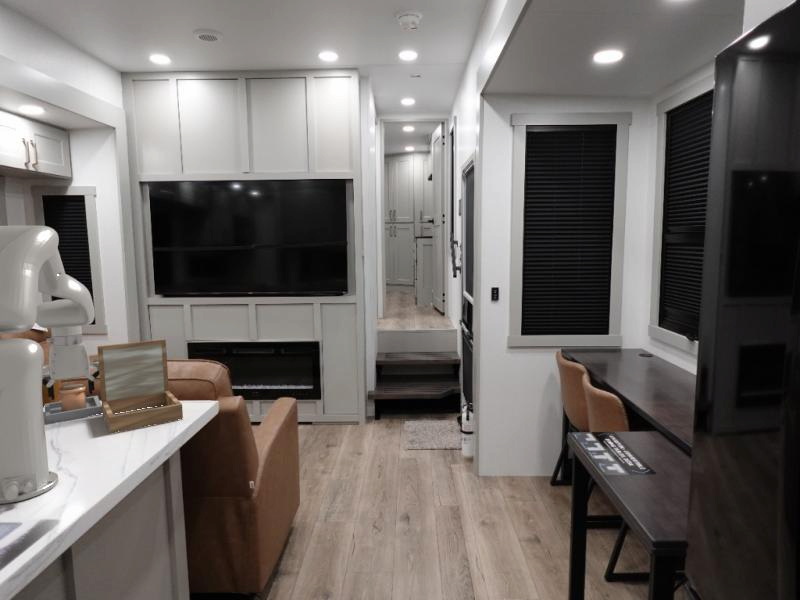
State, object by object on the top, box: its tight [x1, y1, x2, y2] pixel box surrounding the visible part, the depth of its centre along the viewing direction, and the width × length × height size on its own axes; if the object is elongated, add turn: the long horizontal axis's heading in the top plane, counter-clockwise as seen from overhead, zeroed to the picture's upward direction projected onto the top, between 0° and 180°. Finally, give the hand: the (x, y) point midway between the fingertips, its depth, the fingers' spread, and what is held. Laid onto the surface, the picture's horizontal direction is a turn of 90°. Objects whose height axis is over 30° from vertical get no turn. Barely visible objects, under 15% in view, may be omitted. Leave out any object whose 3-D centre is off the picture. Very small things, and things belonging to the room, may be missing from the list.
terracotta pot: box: [58, 383, 87, 412], centre depth 152 cm, size 7×7×7 cm
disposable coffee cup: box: [42, 364, 62, 406], centre depth 161 cm, size 10×10×12 cm
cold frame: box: [97, 338, 184, 434], centre depth 146 cm, size 19×18×21 cm
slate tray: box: [44, 395, 102, 425], centre depth 152 cm, size 14×14×2 cm
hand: (72, 396), depth 151 cm, fingers open, 9 cm apart
